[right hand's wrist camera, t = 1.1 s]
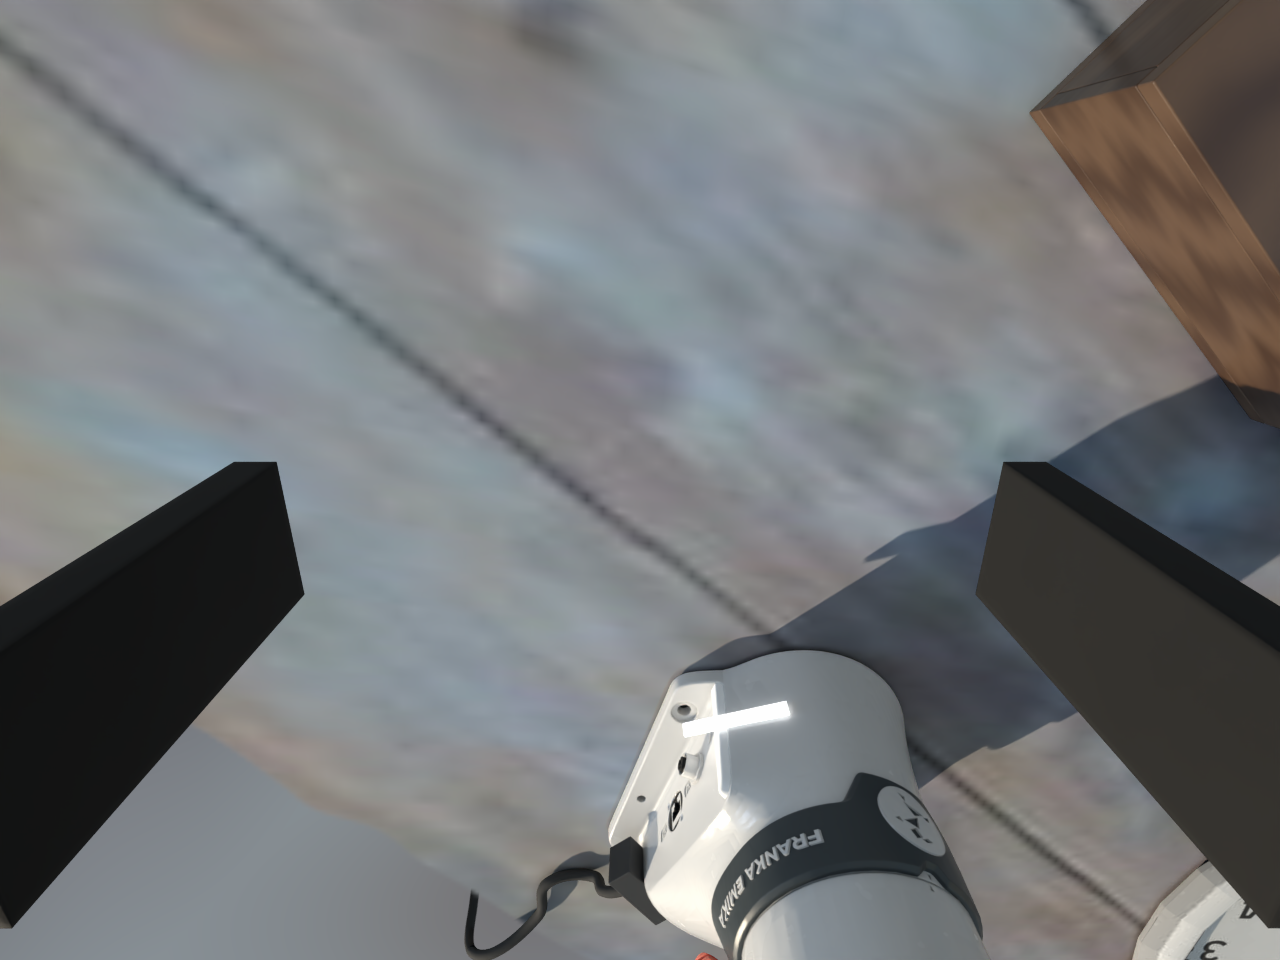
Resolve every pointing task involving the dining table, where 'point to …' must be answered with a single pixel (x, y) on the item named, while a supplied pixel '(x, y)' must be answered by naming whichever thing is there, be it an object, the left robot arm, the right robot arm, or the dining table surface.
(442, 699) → the dining table surface
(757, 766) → the left robot arm
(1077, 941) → the dining table surface
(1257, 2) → the cabinet
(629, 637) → the dining table surface
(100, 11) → the dining table surface
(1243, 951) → the wall clock
